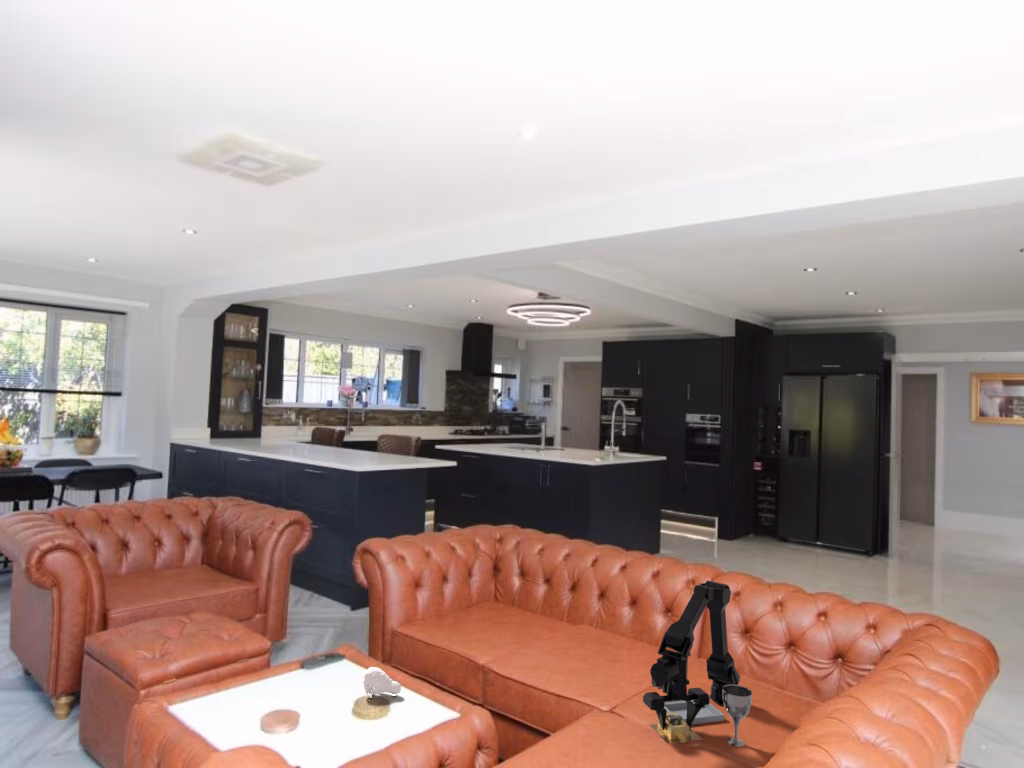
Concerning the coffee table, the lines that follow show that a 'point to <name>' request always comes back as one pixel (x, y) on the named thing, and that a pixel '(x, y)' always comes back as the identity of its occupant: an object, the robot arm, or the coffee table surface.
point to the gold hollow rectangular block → (675, 729)
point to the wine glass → (736, 707)
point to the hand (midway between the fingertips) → (675, 728)
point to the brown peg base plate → (675, 722)
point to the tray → (703, 716)
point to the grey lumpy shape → (379, 682)
